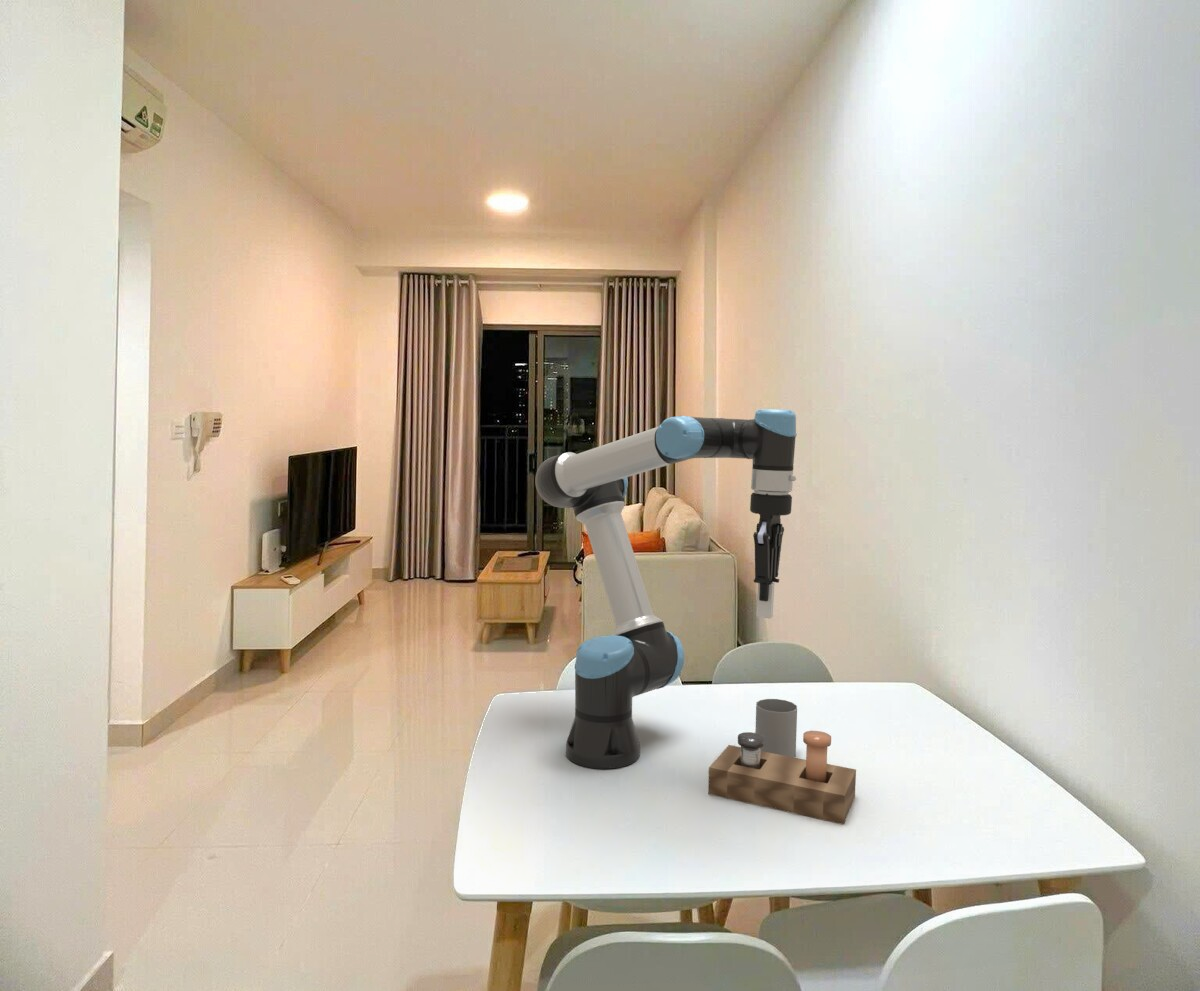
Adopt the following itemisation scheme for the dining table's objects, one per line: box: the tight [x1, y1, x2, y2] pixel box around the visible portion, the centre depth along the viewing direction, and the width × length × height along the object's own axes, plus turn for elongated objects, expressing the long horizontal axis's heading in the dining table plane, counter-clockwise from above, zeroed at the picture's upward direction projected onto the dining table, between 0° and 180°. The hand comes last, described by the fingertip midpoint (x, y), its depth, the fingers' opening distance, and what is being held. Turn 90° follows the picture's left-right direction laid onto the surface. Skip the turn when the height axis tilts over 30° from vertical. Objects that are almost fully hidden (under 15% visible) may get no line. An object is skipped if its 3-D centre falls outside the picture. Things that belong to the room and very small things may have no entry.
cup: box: [754, 698, 798, 758], centre depth 163 cm, size 8×8×10 cm
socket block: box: [707, 744, 857, 825], centre depth 143 cm, size 24×12×5 cm, turn 63°
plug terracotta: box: [802, 730, 832, 783], centre depth 140 cm, size 5×5×9 cm
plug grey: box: [737, 731, 764, 770], centre depth 146 cm, size 5×5×9 cm
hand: (764, 616), depth 148 cm, fingers closed
